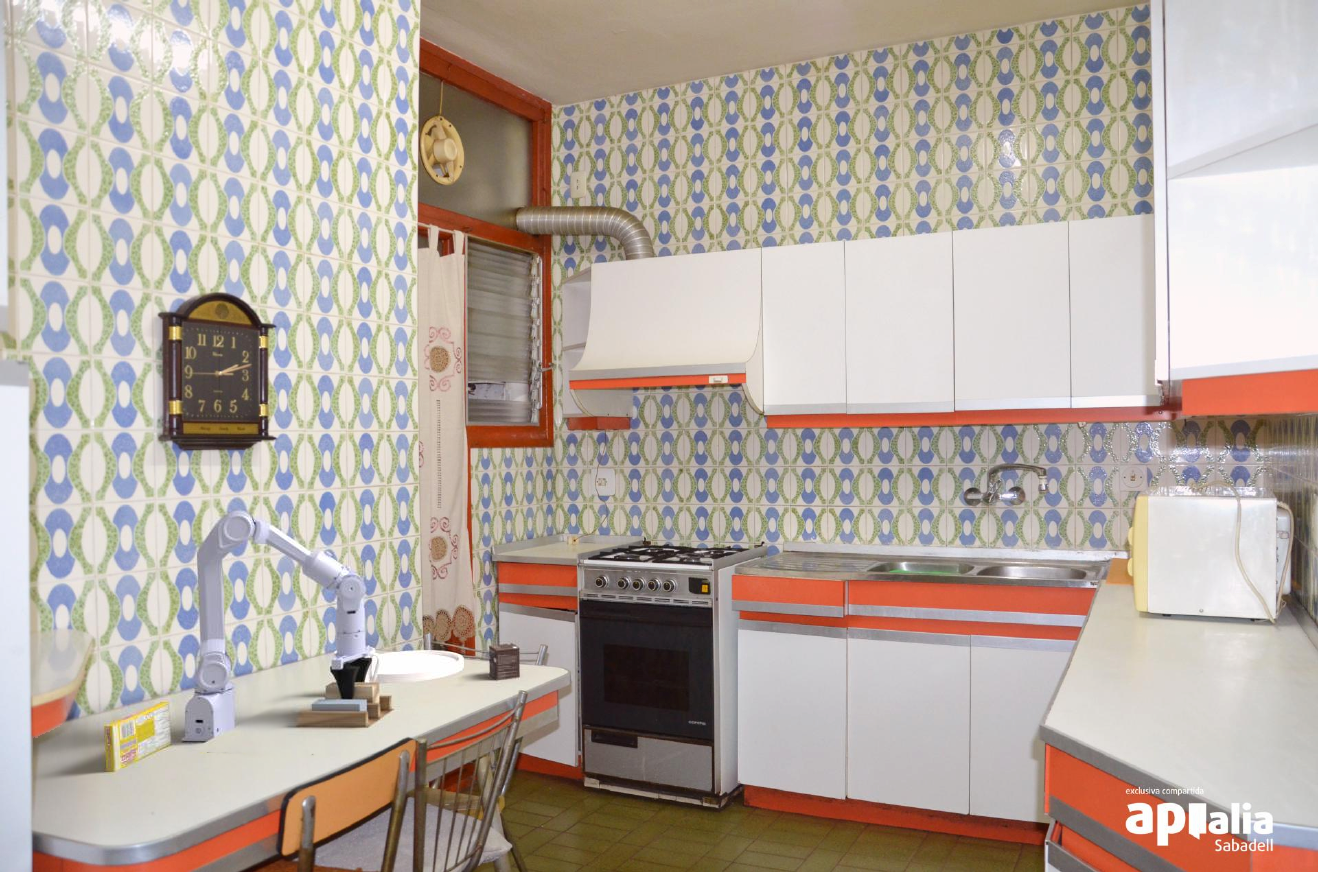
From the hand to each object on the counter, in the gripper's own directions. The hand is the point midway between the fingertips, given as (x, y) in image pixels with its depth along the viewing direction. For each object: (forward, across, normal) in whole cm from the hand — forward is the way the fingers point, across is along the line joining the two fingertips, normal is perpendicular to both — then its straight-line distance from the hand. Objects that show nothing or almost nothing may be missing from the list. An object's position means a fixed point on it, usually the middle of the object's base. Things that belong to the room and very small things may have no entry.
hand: (352, 696), depth 210 cm
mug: (+5, +18, +6) cm, 19 cm away
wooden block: (+3, 0, 0) cm, 3 cm away
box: (+5, +38, -22) cm, 44 cm away
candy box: (+5, -27, +29) cm, 40 cm away
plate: (+5, +45, +5) cm, 45 cm away
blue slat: (+3, -6, 0) cm, 7 cm away
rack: (+4, -3, 0) cm, 5 cm away
